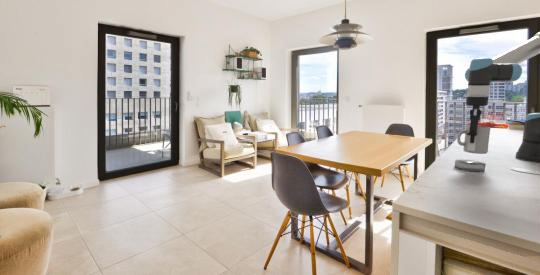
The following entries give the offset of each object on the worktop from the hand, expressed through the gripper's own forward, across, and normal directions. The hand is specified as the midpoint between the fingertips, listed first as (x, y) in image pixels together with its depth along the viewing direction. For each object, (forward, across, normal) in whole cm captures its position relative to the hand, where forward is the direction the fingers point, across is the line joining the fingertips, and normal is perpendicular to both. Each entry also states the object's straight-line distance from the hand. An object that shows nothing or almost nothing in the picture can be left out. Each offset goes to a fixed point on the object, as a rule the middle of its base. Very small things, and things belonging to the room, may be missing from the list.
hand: (471, 148), depth 123 cm
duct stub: (+9, 0, 0) cm, 9 cm away
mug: (+1, +1, 0) cm, 2 cm away
